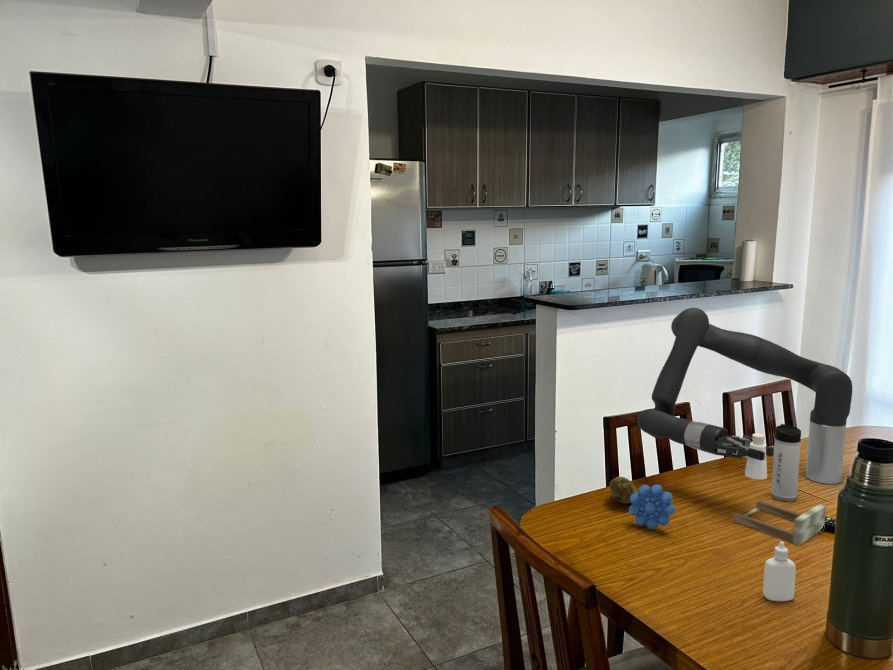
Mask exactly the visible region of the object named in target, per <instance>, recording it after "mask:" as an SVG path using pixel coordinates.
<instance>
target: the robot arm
mask: <svg viewBox="0 0 893 670" xmlns="http://www.w3.org/2000/svg"><path fill="white" fill-rule="evenodd" d="M670 325H671V327H670V328H671V332H672V334H673V335H674V337H675V338H674V343H673V345H672V348H671V350H670V352H669V354H668V357H667V359H666V361H665V362H664V364H663V366H662V368H661V371H660V373H659V374H658V377H657V380H656V383H655V385H654V388H653V390H652V393H651V400H652V401H653V403H654V409H653V408H648V409H647V408H646V409H644V410H642V411H641V412H640V413H639V414H638V416H637V419H636V420H637V421H636V422H637V425H638V427H639V429H640V430H641V431H642V432H644V433H646V434H647V435H650V436H651V437H653V438H654V439H665V438H666V439H669V440H670V441H673V442H674V443H677V444H680V445H683V446H687V447H690V448H692V449H695V450H696V451H701V452H704V453H708V454H712V455H715V456H723V457H727V458H734V459H739V460H740V459H743V458H745V459H747V458H748V457H750V458H754V459H757V460H761V461H763V460H764V459H765V452H763V451H759V450H755V449H752V448H750V449H749V447H750V443H752V441H753V440H752V439H753V436H749V435H747V434H742V437H740V436H738V435H730V433H729V431H728V429H727V428H725V427H723V426H717V425H713V424H710V423H706V422H702V421H701V422H700V421H695V420H691V419H686V418H681V417H677V416H675V414H676V413H675V412H676V403H677V400H678V397H679V394H680V393H681V389H682V387H683V384H684V380H685V377H686V375H687V372H688V369H689V366H690V364H691V362H692V359H693V357H694V355H695V353H696V350H697V348H698V347H700V348H703V349H707V350H710V351H712V352H714V353H717V354H719V355H721V356H723V357H725V358H727V359H730V360H731V361H732V360H733V361H735V362H737V363H739V364H741V365H743V366H745V367H748V368H750V369H752V370H755V371H758V372H761V373H764V374H767V375H770V376H771V375H772V376H775V377H776V376H777V377H781V378H784V379H785V378H786V379H789V380H792V381H793V382H796V383H799V384H800V385H802V386H804V387H806V388H808V389H810V390H811V391H813V392H814V393H815V396H814V397H815V398H814V406H813V409H812V410H811V411H810V415H809V429H808V441H807V452H806V453H807V454H806V455H807V457H806V468H805V477H806V478H807V479H808V480H811V481H812V482H816V483H820V484H829V485H835V484H840V483H841V482H842V478H843V468H844V455H845V445H846V432H847V431H846V430H847V421H848V417H849V416H850V414H851V406H852V398H853V381H852V379H851V377H850V376H849V375H848V374H847V373H846V372H844V371H843V370H841V369H840V368H838V367H837V366H833V365H829V364H826V363H822V362H818V361H815V360H813V359H809V358H806V357H803V356H800V355H798V354H797V353H795V352H794V351H793V352H792V351H791V350H789V349H787V348H785V347H783V346H781V345H779V344H777V343H775V342H772V341H770V340H768V339H765V338H763V337H760V336H757V335H754V334H750V333H746V332H741V331H734V330H727V329H723V328H720V327H718V326H716V325H713V324H711V323H710V319H709V316H708V315H707V313H706V312H705V311H704V310H703V309H700V308H698V307H689V308H685V309H684V310H682V311H681V312H680V313H678V314H677V315H676V316H675V317H674V318H673V320H672V322H671V324H670ZM765 446H766V457H770V458H771V457H774V447H771V446H767V445H765Z"/></svg>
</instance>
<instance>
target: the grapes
mask: <svg viewBox="0 0 893 670" xmlns="http://www.w3.org/2000/svg"><path fill="white" fill-rule="evenodd" d="M630 501H631V503H630V504H631V505H630V506H628V507H629V508H628V513H629V514H630V515H631V516H634V517H635V520H634V521H635V524H636V525H638V526H640V527H641V526H644V525H646V527H647V528H648V529H649V530H656V529H657V528H658V527H659V525H660V526H663V527H664V526H667V525H668V524H670V522H671V521H670V519H671V518H670V516H672V515H674V514H675V512H676V506H675V505H674V504H673V503H672V501H673V494H672V493H671V492H669V491H664V489H663V487H662V486H661V485H660V484H654V485H652V486H651V487H650V486H649V485H647V484H644V485H641V486H639V488H638V492H637V493H633V494H632V495H631V496H630Z"/></svg>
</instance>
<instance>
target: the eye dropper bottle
mask: <svg viewBox="0 0 893 670" xmlns="http://www.w3.org/2000/svg"><path fill="white" fill-rule="evenodd" d="M788 557H789V549H788V548H787V547H785V542H784V541H779V544H778V545H777V546H774V555H773V556H772V557H771V558H768V559H767V560H766V561H765V562H764V571H763V584H762V585H763V586H762V595H763V596H764V597H765V598H766V600H768V601H774V602H787V601H788V602H789V601H792V600H793V599H794V597H795V584H796V573H797V572H796V571H797V565H796V564H795V563H794V561H793V560H792V559H790V558H788Z"/></svg>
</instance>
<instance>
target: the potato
mask: <svg viewBox="0 0 893 670" xmlns="http://www.w3.org/2000/svg"><path fill="white" fill-rule="evenodd" d="M609 490H610V494H611V496H612V497H613V501H615V502H619V503H621V504H632V503H631V501H630V496H631V495H632V494H633V493H638V492H637V488H636V486H635V485H634V483H633V481H631V480H630V479H629V478H626V477H624V476H617V477H614V478H613V479H611V480H610V482H609Z"/></svg>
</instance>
